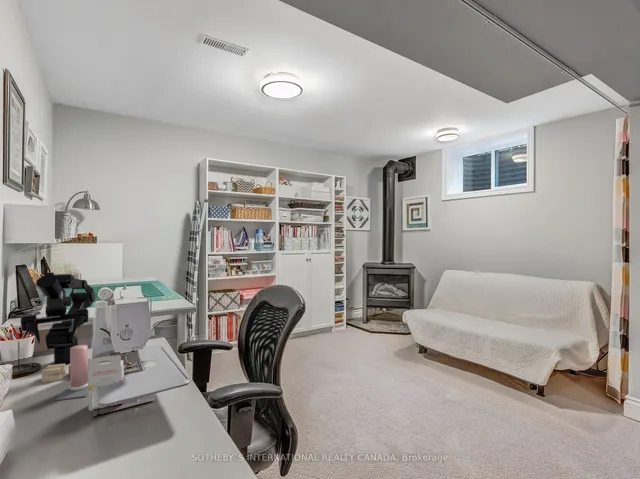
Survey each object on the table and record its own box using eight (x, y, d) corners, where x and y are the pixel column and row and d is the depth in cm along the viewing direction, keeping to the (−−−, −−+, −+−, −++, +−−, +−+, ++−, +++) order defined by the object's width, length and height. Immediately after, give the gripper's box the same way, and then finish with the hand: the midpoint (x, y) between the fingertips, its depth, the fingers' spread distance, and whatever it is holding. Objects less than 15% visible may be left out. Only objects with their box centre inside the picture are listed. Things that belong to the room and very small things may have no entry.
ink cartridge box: (124, 397, 101) (124, 349, 101) (122, 404, 97) (122, 355, 97) (91, 403, 98) (90, 354, 98) (87, 411, 93) (86, 360, 93)
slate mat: (73, 381, 113) (73, 379, 113) (100, 377, 115) (100, 376, 115) (54, 401, 99) (54, 399, 99) (86, 396, 102) (86, 395, 102)
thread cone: (73, 384, 109) (73, 345, 109) (91, 382, 110) (91, 343, 110) (66, 391, 104) (66, 350, 104) (85, 389, 106) (85, 348, 105)
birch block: (48, 376, 117) (48, 365, 117) (65, 374, 118) (65, 363, 118) (41, 382, 112) (41, 371, 112) (59, 380, 114) (59, 369, 113)
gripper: (20, 292, 112) (17, 332, 104) (87, 286, 124) (90, 322, 115) (23, 311, 119) (20, 350, 110) (86, 304, 130) (89, 339, 121)
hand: (56, 340), depth 114 cm, fingers open, 9 cm apart
